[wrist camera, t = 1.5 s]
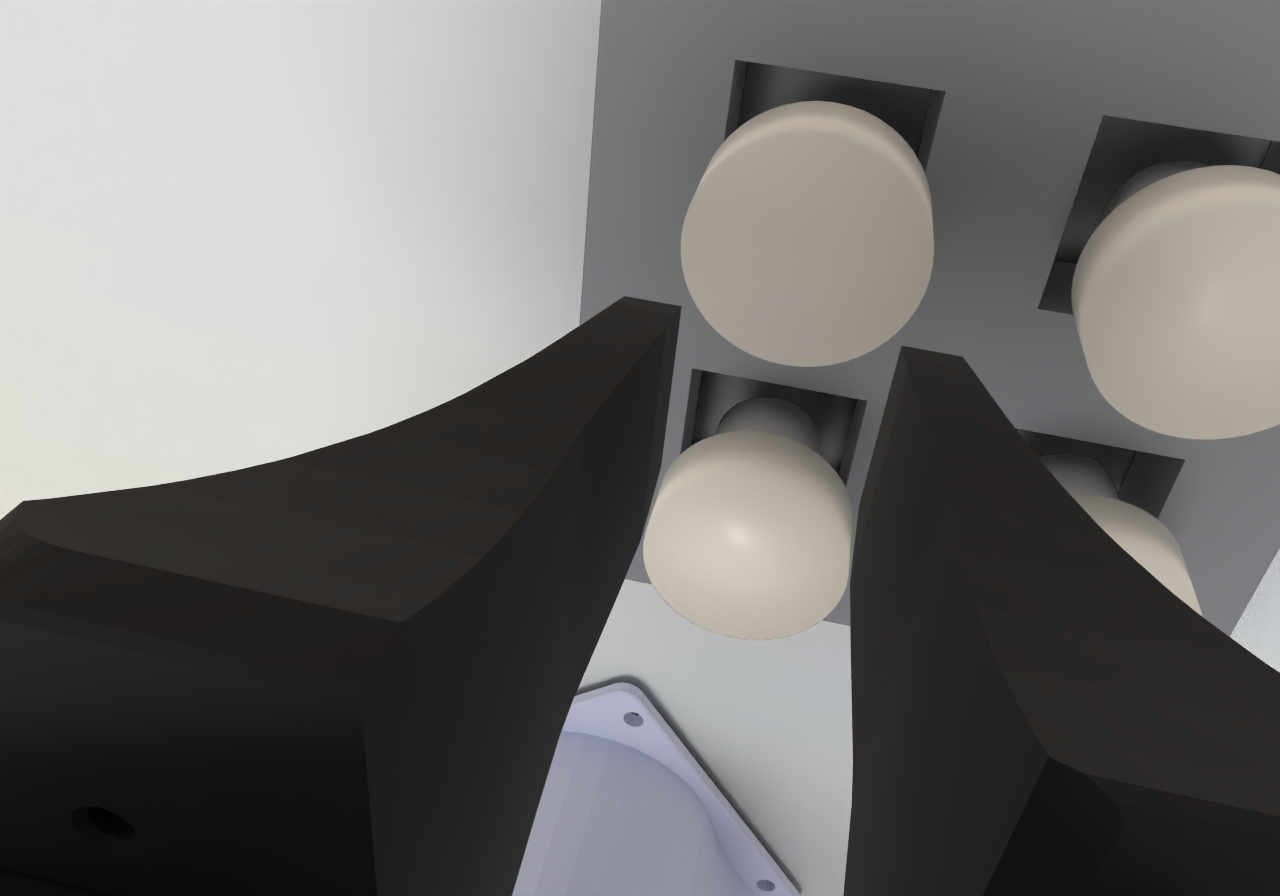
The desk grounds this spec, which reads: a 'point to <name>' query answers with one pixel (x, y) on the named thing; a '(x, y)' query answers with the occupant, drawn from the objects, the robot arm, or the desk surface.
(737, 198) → the button
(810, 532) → the button
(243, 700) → the robot arm
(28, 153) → the desk surface
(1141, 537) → the button
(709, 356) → the board
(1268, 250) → the button
